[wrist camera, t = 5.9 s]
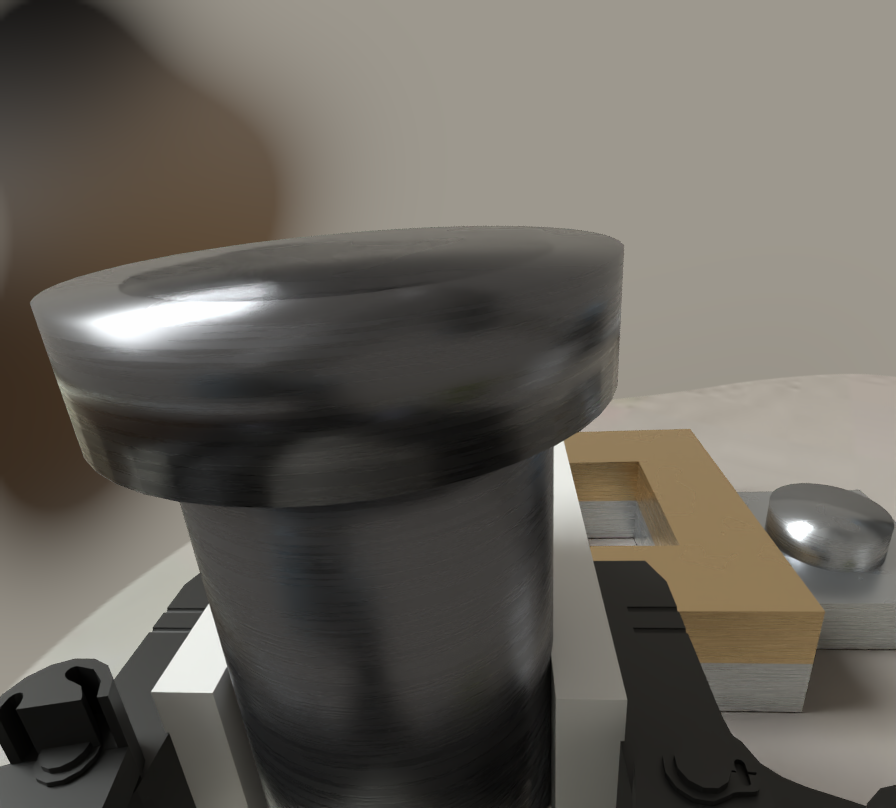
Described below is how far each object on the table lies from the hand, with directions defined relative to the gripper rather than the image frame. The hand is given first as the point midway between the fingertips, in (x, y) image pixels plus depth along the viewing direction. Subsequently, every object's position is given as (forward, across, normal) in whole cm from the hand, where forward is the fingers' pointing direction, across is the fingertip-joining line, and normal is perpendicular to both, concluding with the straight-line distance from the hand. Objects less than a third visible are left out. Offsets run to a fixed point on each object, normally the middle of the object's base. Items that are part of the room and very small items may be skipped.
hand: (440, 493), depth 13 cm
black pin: (-5, 0, -8) cm, 10 cm away
